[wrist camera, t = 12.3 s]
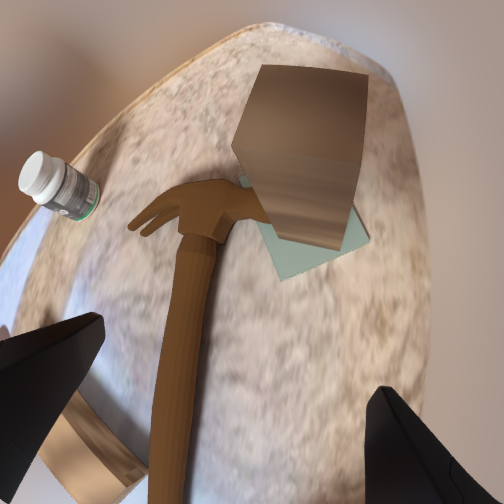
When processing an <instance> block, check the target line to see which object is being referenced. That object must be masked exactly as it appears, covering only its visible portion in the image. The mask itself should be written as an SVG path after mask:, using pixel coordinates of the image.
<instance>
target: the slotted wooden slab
mask: <svg viewBox="0 0 504 504" xmlns="http://www.w3.org/2000/svg"><path fill="white" fill-rule="evenodd" d="M37 453H38V455H39V456H40V457H41V459H42V460H43V462H44V463H45V464H46V466H47V467H48V468H49V470H50V471H51V472H52V474H53V475H54V476H55V477H56V479H57V480H58V481H59V482H60V483H61V485H63V487H64V488H65V489H66V491H67V492H68V493H69V494H70V495H71V496H72V497H73V498H74V499H75V501H76V502H77V503H78V504H119V503H120V502H121V501H122V500H123V499H124V498H125V497H126V496H127V495H128V494H129V493H130V492H131V491H132V490H133V489H134V488H135V487H136V486H137V485H138V484H139V483H140V482H141V481H142V480H143V479H144V478H145V477H146V476H147V475H148V472H149V469H148V468H147V467H146V466H145V465H144V464H143V463H142V462H141V461H140V460H139V459H138V458H137V457H136V456H135V455H134V454H133V453H131V452H130V451H129V449H128V448H127V447H126V446H125V445H124V444H123V443H122V442H121V441H120V440H119V439H118V438H117V437H116V436H115V435H114V434H113V433H112V432H111V430H110V429H109V428H108V427H107V426H106V425H105V424H104V423H103V421H102V420H101V419H100V418H99V417H98V416H97V414H96V413H95V412H94V411H93V410H92V408H91V407H90V406H89V405H88V403H87V402H86V401H85V400H84V398H83V397H82V396H81V394H80V393H79V392H78V390H76V391H75V393H74V394H73V396H72V397H71V399H70V400H69V402H68V404H67V405H66V407H65V408H64V410H63V411H62V413H61V414H60V416H59V418H58V419H57V421H56V422H55V424H54V426H53V427H52V429H51V431H50V432H49V434H48V436H47V437H46V439H45V441H44V442H43V444H42V446H41V447H40V449H39V451H38V452H37Z"/></svg>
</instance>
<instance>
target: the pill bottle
mask: <svg viewBox="0 0 504 504" xmlns="http://www.w3.org/2000/svg"><path fill="white" fill-rule="evenodd" d="M19 189H20V190H21V191H22V192H24V193H26V194H28V195H30V196H32V197H33V200H34V201H35V202H36V203H38V204H40V205H42V206H44V207H46V208H48V209H50V210H52V211H55V212H57V213H59V214H61V215H63V216H65V217H67V218H70V219H72V220H74V221H78V222H80V221H83V220H85V219H87V218H88V217H89V216H90V215H91V214H92V213H93V212H94V210H95V208H96V206H97V204H98V201H99V195H100V191H99V187H98V185H97V183H96V182H94V181H93V180H91V179H90V178H88V177H87V176H85V175H84V174H82V173H81V172H79V171H78V170H76V169H75V168H73V167H72V166H70V165H69V164H67V163H66V162H64V161H63V160H61V159H60V158H51V157H50V156H48V155H47V154H45V153H44V152H42V151H37V152H35V153H34V154H33V155H32V156H31V157H30V158H29V159H28V160H27V162H26V163H25V165H24V167H23V169H22V171H21V174H20V177H19Z"/></svg>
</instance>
